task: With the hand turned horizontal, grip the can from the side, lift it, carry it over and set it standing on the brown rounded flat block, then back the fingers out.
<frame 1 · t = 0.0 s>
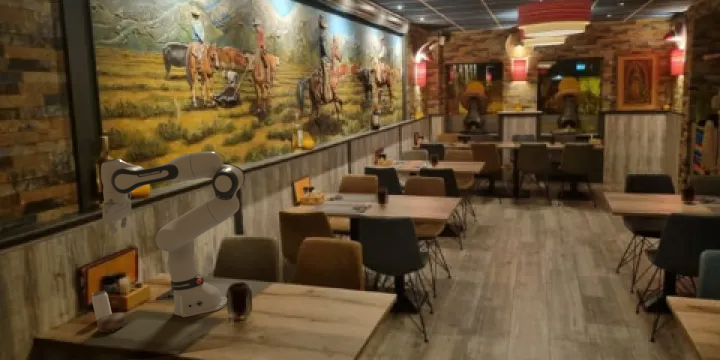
hand: (119, 229, 241), 39 cm above the table, tool pointing down, fingers open, 8 cm apart
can: (104, 319, 251), on the table
brown rounded flat block: (112, 326, 239), on the table
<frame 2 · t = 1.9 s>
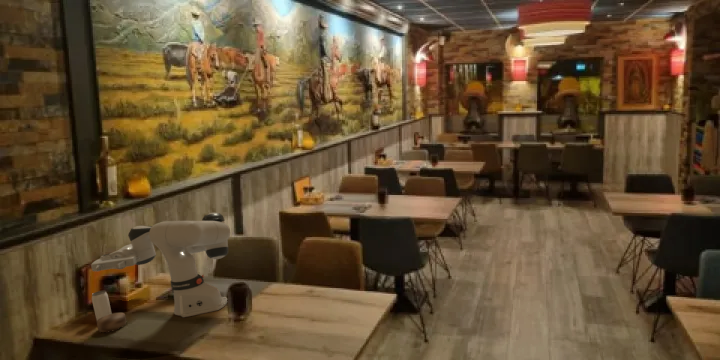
hand: (107, 268, 260), 19 cm above the table, tool horizontal, fingers open, 8 cm apart
nothing on the table moved.
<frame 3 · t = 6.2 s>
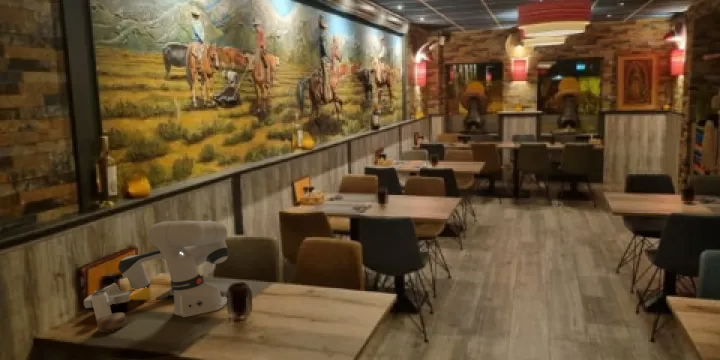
hand: (100, 305, 249), 7 cm above the table, tool horizontal, fingers closed on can, 4 cm apart
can: (104, 319, 251), on the table, touching gripper
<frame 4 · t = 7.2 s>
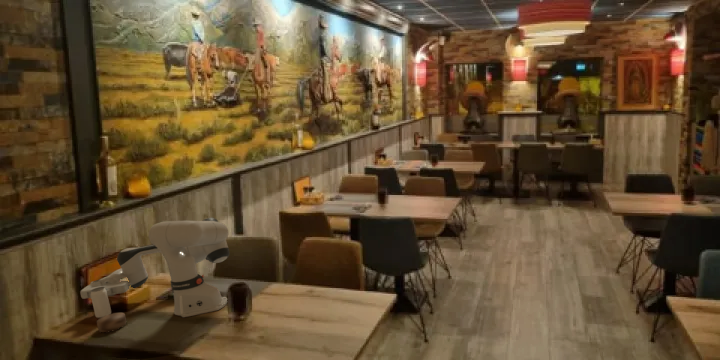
hand: (97, 296, 249), 11 cm above the table, tool horizontal, fingers closed on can, 4 cm apart
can: (103, 315, 251), point 2 cm above the table, touching gripper
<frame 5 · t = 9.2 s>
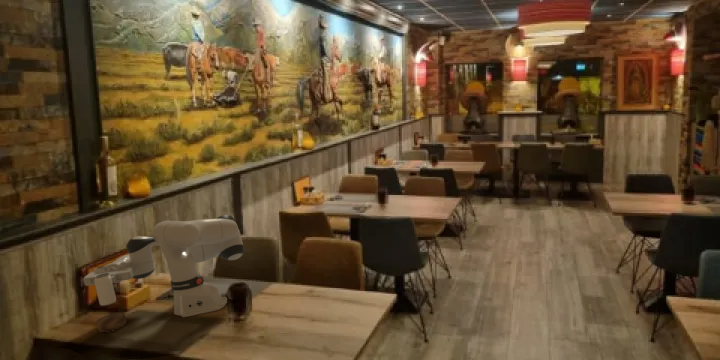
hand: (101, 282, 235), 20 cm above the table, tool horizontal, fingers closed on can, 4 cm apart
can: (108, 303, 238), point 10 cm above the table, touching gripper
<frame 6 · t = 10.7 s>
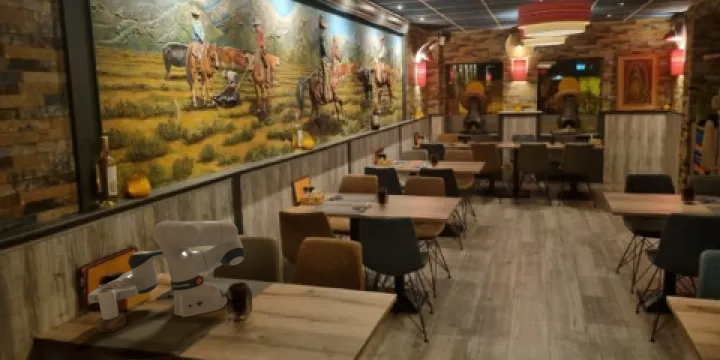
hand: (105, 300, 236), 12 cm above the table, tool horizontal, fingers closed on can, 2 cm apart
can: (110, 317, 239), point 4 cm above the table, touching gripper, brown rounded flat block
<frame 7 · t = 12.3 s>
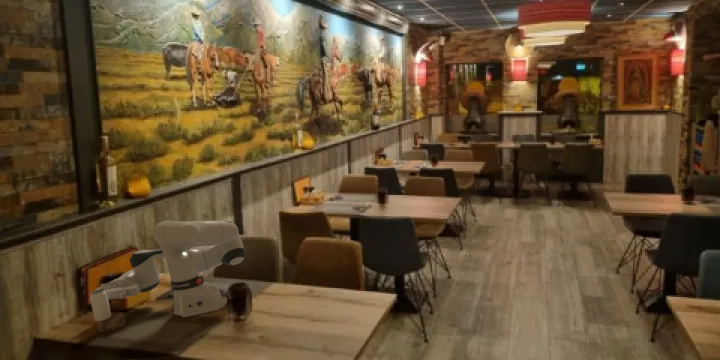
hand: (108, 299, 239), 12 cm above the table, tool horizontal, fingers open, 8 cm apart
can: (103, 319, 239), point 4 cm above the table, touching brown rounded flat block
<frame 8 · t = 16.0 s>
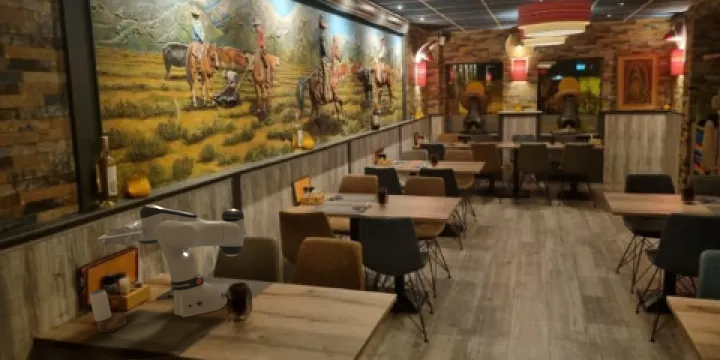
hand: (113, 242, 251), 32 cm above the table, tool horizontal, fingers open, 8 cm apart
nothing on the table moved.
at the end: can 3.3 cm off-centre on the brown rounded flat block, point 3.8 cm above the brown rounded flat block's base; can tilted 0°; the gripper is holding nothing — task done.
